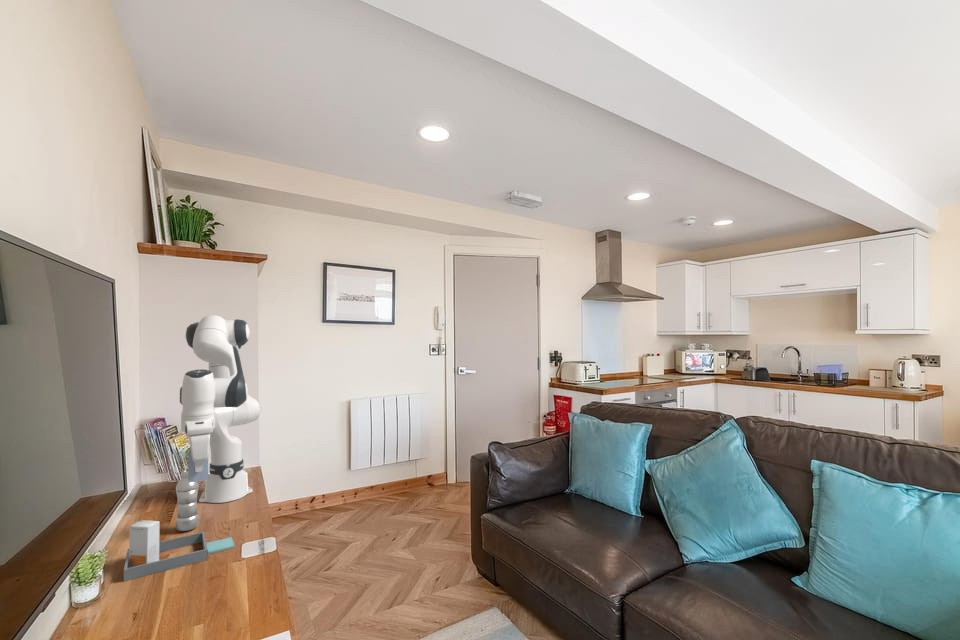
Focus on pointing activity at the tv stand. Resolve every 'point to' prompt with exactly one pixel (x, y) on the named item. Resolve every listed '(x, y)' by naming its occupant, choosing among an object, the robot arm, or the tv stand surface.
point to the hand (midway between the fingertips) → (198, 469)
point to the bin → (169, 562)
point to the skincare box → (144, 542)
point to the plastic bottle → (187, 503)
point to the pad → (220, 545)
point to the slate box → (197, 476)
